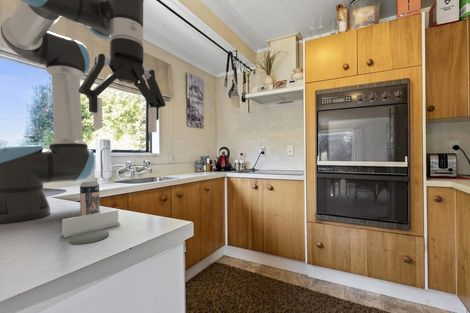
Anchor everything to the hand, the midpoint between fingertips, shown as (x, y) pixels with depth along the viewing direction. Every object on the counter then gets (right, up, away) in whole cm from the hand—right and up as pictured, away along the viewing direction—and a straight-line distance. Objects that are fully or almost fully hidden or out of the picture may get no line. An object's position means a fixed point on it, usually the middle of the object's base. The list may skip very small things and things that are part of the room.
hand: (127, 130), depth 57 cm
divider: (-11, -26, +4) cm, 29 cm away
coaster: (-8, -26, -2) cm, 27 cm away
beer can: (-16, -26, +10) cm, 32 cm away
